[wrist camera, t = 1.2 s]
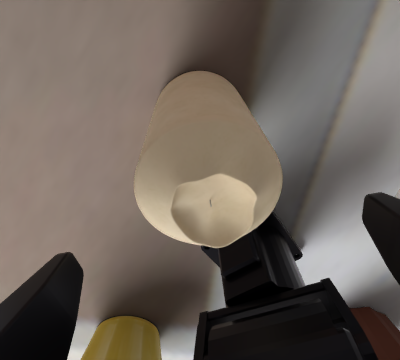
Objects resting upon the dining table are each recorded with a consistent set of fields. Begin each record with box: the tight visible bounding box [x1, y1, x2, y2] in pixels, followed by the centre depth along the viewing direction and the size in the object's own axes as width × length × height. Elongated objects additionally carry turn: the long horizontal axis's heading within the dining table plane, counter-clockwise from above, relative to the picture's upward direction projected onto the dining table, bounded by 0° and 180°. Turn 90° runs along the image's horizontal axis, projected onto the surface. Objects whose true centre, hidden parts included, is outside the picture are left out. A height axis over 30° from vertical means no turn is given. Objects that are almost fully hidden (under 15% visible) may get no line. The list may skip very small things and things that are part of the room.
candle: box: [134, 71, 283, 248], centre depth 13 cm, size 6×6×10 cm
